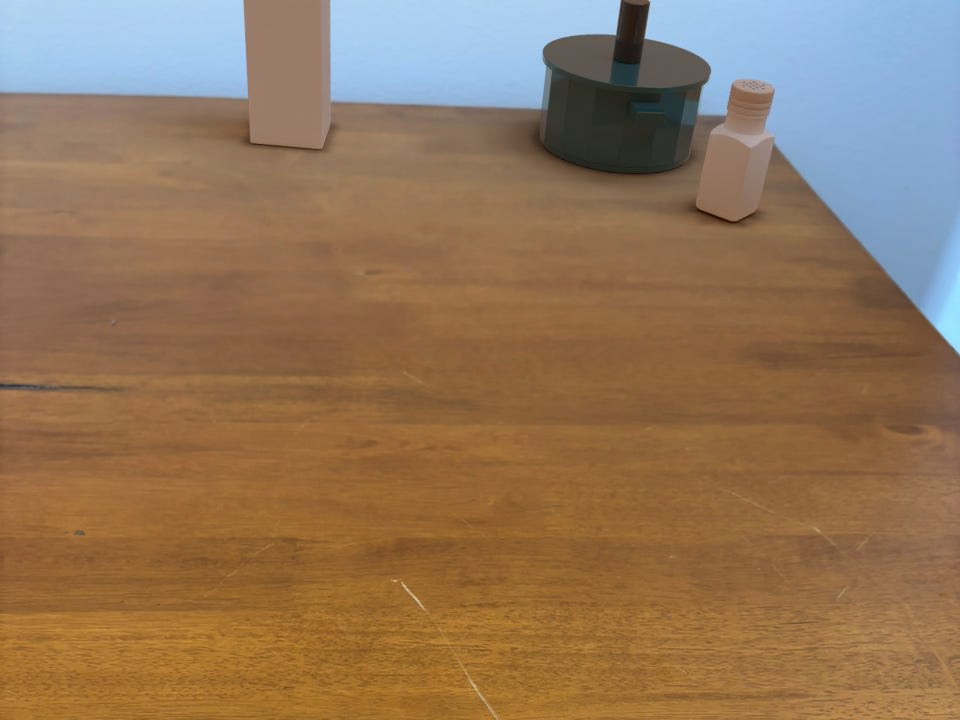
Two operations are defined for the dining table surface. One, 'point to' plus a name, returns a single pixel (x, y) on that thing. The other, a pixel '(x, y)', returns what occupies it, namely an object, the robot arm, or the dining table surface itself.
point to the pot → (617, 126)
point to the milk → (288, 71)
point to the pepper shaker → (738, 153)
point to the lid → (627, 58)
